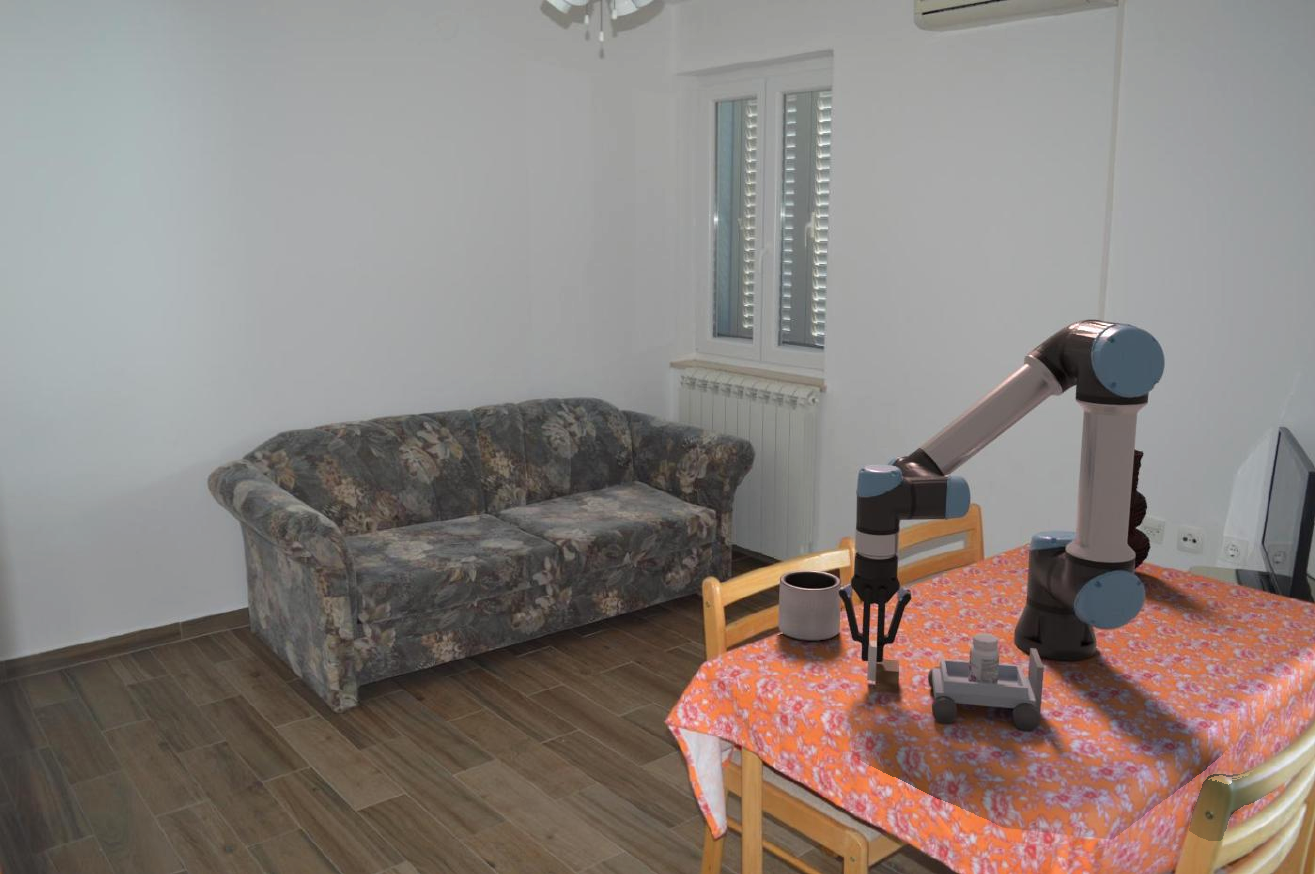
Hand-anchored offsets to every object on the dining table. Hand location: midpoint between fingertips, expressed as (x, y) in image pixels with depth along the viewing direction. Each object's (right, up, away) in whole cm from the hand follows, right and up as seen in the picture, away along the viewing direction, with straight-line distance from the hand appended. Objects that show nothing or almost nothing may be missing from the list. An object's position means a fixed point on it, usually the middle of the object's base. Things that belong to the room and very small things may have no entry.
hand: (871, 677), depth 184 cm
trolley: (+17, -3, -9) cm, 19 cm away
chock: (+3, -1, 0) cm, 3 cm away
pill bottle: (+17, +1, -10) cm, 20 cm away
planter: (-8, +3, +25) cm, 26 cm away
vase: (+70, +11, +60) cm, 93 cm away
